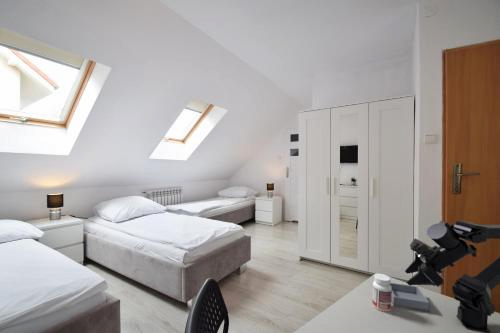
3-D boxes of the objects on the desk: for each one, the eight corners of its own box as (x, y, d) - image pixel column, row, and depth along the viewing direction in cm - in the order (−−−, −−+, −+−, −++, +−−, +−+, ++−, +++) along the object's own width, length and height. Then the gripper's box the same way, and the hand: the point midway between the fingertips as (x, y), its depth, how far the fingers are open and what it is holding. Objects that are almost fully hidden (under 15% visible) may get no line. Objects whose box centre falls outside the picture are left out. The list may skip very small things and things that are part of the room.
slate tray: (417, 294, 97) (417, 286, 97) (428, 312, 87) (429, 302, 86) (386, 290, 100) (386, 281, 100) (393, 306, 90) (393, 296, 90)
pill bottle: (394, 308, 88) (395, 278, 88) (385, 314, 85) (386, 283, 84) (377, 300, 94) (378, 271, 93) (368, 305, 90) (369, 275, 90)
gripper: (424, 226, 90) (388, 249, 96) (431, 241, 73) (388, 268, 79) (450, 251, 86) (411, 274, 92) (464, 273, 70) (416, 299, 76)
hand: (406, 277), depth 85 cm, fingers open, 9 cm apart
